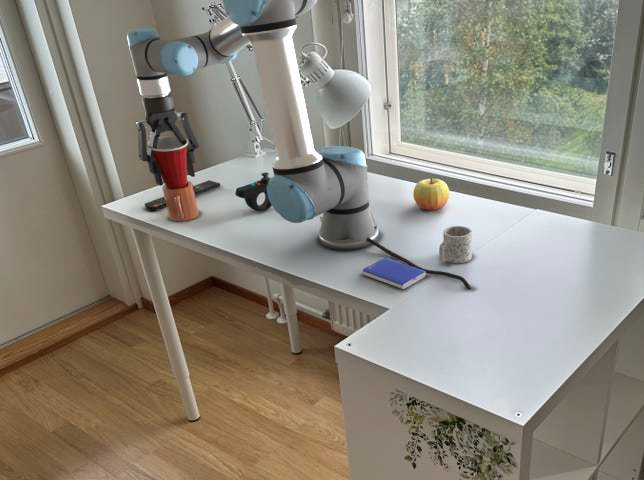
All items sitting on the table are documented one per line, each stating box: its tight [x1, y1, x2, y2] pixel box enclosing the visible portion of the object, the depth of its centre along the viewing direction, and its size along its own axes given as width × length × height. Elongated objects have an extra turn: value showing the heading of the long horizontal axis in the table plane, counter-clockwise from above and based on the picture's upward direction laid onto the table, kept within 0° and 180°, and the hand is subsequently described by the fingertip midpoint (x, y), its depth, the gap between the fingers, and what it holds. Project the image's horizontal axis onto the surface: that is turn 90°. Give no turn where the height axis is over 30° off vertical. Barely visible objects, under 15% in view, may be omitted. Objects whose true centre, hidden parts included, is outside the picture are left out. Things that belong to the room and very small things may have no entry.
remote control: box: [144, 180, 221, 212], centre depth 213 cm, size 5×24×1 cm, turn 142°
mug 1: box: [161, 180, 199, 222], centre depth 198 cm, size 11×8×9 cm
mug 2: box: [438, 225, 473, 264], centre depth 169 cm, size 10×7×7 cm, turn 140°
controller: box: [234, 172, 273, 212], centre depth 200 cm, size 4×12×10 cm, turn 133°
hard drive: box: [362, 257, 427, 290], centre depth 164 cm, size 2×8×12 cm
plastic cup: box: [147, 135, 189, 188], centre depth 193 cm, size 11×11×12 cm
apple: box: [413, 177, 450, 211], centre depth 197 cm, size 10×10×8 cm
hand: (175, 179), depth 196 cm, fingers closed on plastic cup, 9 cm apart
